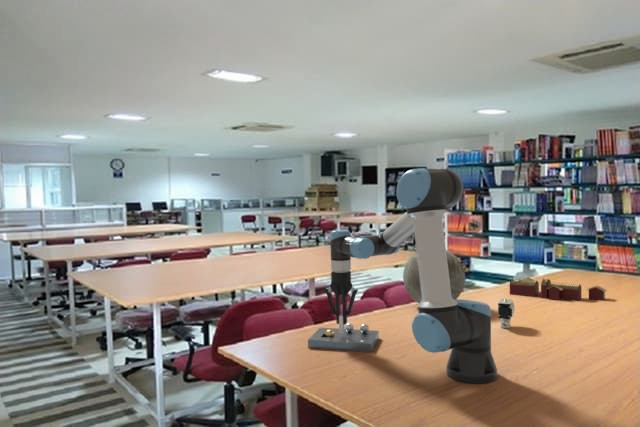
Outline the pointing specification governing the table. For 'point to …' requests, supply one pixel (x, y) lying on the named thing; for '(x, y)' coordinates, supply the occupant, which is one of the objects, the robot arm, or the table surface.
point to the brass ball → (329, 333)
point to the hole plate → (344, 340)
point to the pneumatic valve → (505, 312)
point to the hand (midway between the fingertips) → (341, 332)
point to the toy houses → (553, 290)
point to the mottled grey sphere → (413, 278)
